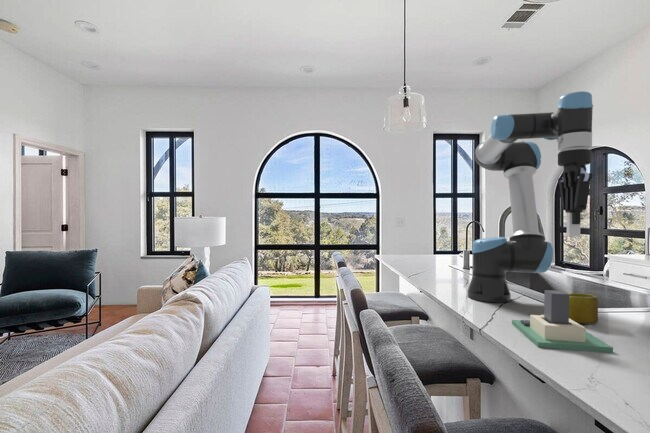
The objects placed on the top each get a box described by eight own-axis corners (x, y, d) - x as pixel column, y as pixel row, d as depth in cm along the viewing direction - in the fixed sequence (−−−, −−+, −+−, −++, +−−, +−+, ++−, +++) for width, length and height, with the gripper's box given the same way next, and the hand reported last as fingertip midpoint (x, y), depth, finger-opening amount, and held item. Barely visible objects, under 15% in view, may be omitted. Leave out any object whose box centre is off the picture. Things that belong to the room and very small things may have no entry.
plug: (543, 330, 90) (543, 289, 90) (559, 331, 90) (560, 290, 90) (551, 336, 86) (551, 293, 86) (568, 337, 85) (569, 294, 85)
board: (511, 323, 100) (512, 307, 100) (572, 327, 97) (572, 311, 97) (537, 347, 82) (538, 327, 82) (613, 352, 79) (613, 332, 79)
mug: (614, 322, 96) (598, 287, 99) (576, 330, 98) (561, 296, 101) (593, 318, 108) (579, 287, 110) (559, 325, 110) (546, 295, 112)
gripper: (548, 155, 100) (547, 234, 100) (571, 146, 87) (570, 237, 87) (576, 154, 99) (575, 235, 99) (604, 145, 86) (603, 238, 86)
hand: (573, 236), depth 93 cm, fingers closed
